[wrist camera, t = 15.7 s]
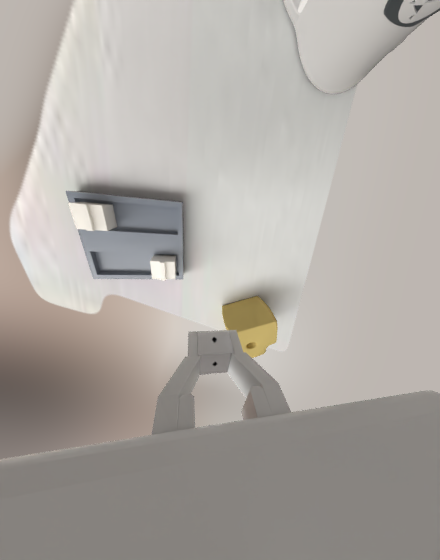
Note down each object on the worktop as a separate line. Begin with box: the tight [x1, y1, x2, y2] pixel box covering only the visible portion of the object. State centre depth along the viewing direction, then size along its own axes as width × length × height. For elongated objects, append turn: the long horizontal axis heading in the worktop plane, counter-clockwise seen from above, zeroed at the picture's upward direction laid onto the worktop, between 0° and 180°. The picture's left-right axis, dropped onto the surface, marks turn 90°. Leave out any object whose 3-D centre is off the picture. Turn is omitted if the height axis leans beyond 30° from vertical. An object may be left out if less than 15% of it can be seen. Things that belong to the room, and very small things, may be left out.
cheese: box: [222, 296, 277, 358], centre depth 38 cm, size 10×11×10 cm
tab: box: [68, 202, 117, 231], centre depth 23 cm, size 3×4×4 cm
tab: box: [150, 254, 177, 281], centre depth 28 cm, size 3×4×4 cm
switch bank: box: [66, 191, 184, 279], centre depth 28 cm, size 14×16×3 cm
